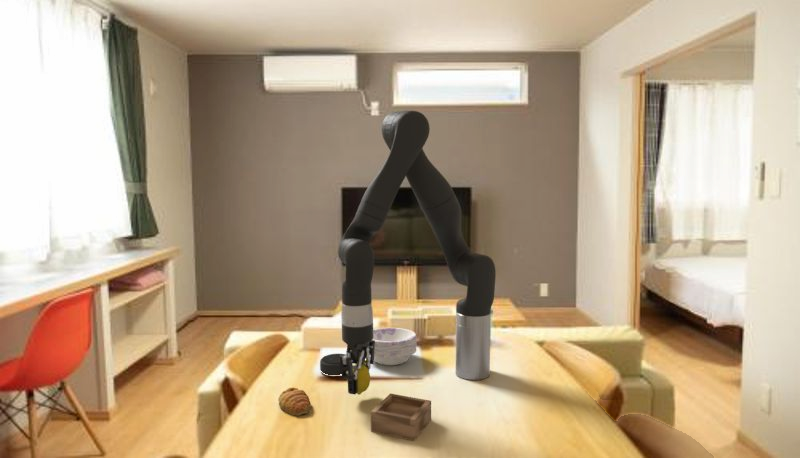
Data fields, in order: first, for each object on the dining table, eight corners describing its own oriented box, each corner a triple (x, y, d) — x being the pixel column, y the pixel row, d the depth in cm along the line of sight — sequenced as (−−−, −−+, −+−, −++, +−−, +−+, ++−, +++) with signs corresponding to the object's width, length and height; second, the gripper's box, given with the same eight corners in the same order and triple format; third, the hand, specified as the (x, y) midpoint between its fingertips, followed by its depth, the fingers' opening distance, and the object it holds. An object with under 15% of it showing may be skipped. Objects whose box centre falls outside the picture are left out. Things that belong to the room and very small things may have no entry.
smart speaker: (314, 371, 152) (313, 357, 152) (340, 364, 158) (339, 350, 158) (332, 381, 146) (332, 366, 145) (359, 372, 152) (359, 358, 151)
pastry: (318, 413, 127) (317, 397, 127) (290, 420, 124) (290, 404, 123) (301, 398, 135) (301, 383, 135) (275, 405, 132) (274, 390, 131)
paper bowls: (392, 347, 172) (392, 323, 171) (427, 360, 161) (427, 334, 160) (353, 359, 161) (353, 333, 160) (388, 374, 150) (387, 346, 149)
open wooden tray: (390, 412, 127) (390, 393, 127) (431, 420, 123) (431, 400, 123) (371, 431, 118) (370, 411, 118) (414, 440, 114) (414, 419, 114)
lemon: (367, 400, 131) (366, 367, 130) (344, 398, 132) (343, 366, 131) (373, 390, 136) (372, 359, 135) (351, 388, 137) (350, 358, 136)
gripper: (357, 331, 124) (358, 403, 126) (384, 314, 137) (385, 379, 139) (328, 327, 127) (330, 397, 129) (357, 311, 140) (359, 375, 142)
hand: (359, 388), depth 134 cm, fingers closed on lemon, 5 cm apart
